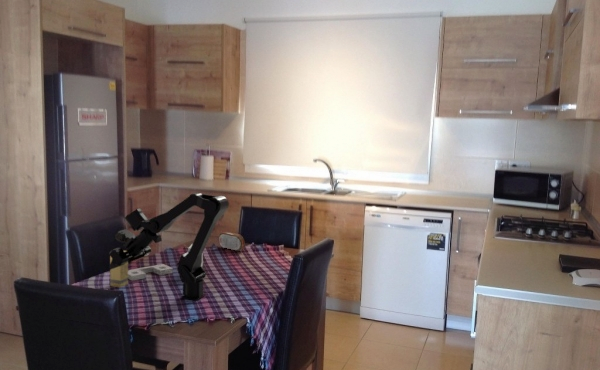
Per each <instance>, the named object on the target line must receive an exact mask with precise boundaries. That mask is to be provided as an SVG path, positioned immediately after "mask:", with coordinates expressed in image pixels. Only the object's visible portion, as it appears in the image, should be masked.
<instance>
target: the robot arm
mask: <svg viewBox="0 0 600 370" xmlns="http://www.w3.org/2000/svg"><path fill="white" fill-rule="evenodd" d="M229 205H230V203H229V200H228V199H227V197H226V196H224V195H217V196H216V195H212V194H211V195H210V194H204V193H200V192H194V193H191V194H189V196H188V197H186V198H185V199H183V200H182V201H181V202H179V203H178V204H176V205H175V206H173V207H172V208H171V209H169V210H168V211H166V212H164V213H162V214H159V215H157V216H154V217H152V218H151V217H150V218H148V217H147V216H146V215H145V214H144V212H143V210H142V209H141V208H136V209H135V210H133V211H131V212H130V213H128V214H127V215H126V216H125V217H124V221H125V222H126V223H127V224H128V225H129V227H130V228H131V230H133V232H136V231H137V232H139V233H138V234H137V235H136V234H135V233H133V232H131V231H130V230H129V229H121V230H119V231H117V233H115V240H117V241H118V242H120V243H123V247H124V248H125V250H123V248H122V247H116V248H114V249H111V250H110V251H109V253H108V255H109V257H110V256H111V257H112V261H111V264H110V263H109V266H108V269H109V270H110V269H113V268H116V267H119V266H122V265H124V264H125V263H126V262H128V264H129V263H131V262H133V261H136V260H139V259H141V258H143V257H147V256H149V255H150V254H151V252H152V248H151V247H150V245H151V244H152V243H153V242H154V243H155V244H157V243H160V242H162V234H159V233H163V232H165V231H168V230H170V229H169V228H171V227H172V226H173V225H174V223H175V222H176V220H177V219H179V218H180V217H181V216H183V215H184V214H186V213H188V212H189V211H190V210H192V209H194V208H195V207H197V208H200V209H202V210H203V220H202V222H201V224H200V227H199V229H198V231H197V233H196V235H195V238H194V240H193V241H192V243H191V244H192V247H191V249H190V251H189V252H188V251H187V252H185V253H182V254H181V255H180V257H179V261H178V262H177V263H176V265H177V267H176V268H177V272H178V274H179V276H180V280H181V283H182V295H180V296H181V298H182V299H186V300H187V299H188V300H192V301H193V300H194V301H198V300H200V299H202V298H203V297H204V296H206V293H204V279H205V278H206V276H207V271H206V270H205V269H204V268H202V267H201V263H202V253H203V254H204V251H205V249H206V246H207V243H208V242H209V240H210V237H211V236H212V233H213V231H214V229H215V226H216V224H217V223H218V221H219V220H220V219H221V218H222V217H223V215H224V214H226V211H227V210H228V209H229ZM124 251H126V252H124Z"/></svg>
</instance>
